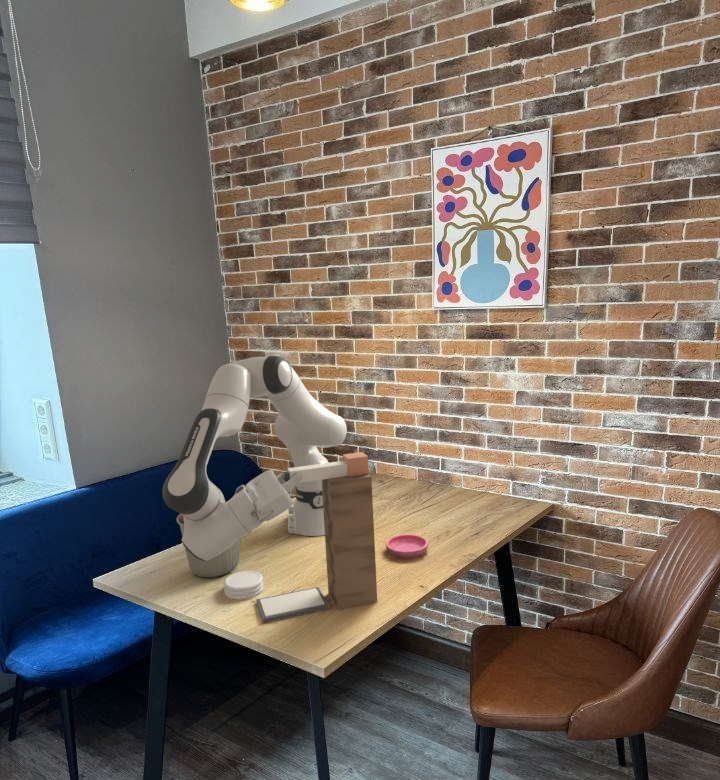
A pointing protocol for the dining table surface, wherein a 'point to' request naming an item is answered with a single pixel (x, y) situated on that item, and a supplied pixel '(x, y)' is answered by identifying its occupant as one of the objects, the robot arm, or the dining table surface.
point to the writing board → (291, 604)
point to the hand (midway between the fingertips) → (297, 472)
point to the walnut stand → (349, 540)
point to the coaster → (243, 585)
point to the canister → (215, 565)
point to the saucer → (407, 545)
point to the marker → (332, 468)
